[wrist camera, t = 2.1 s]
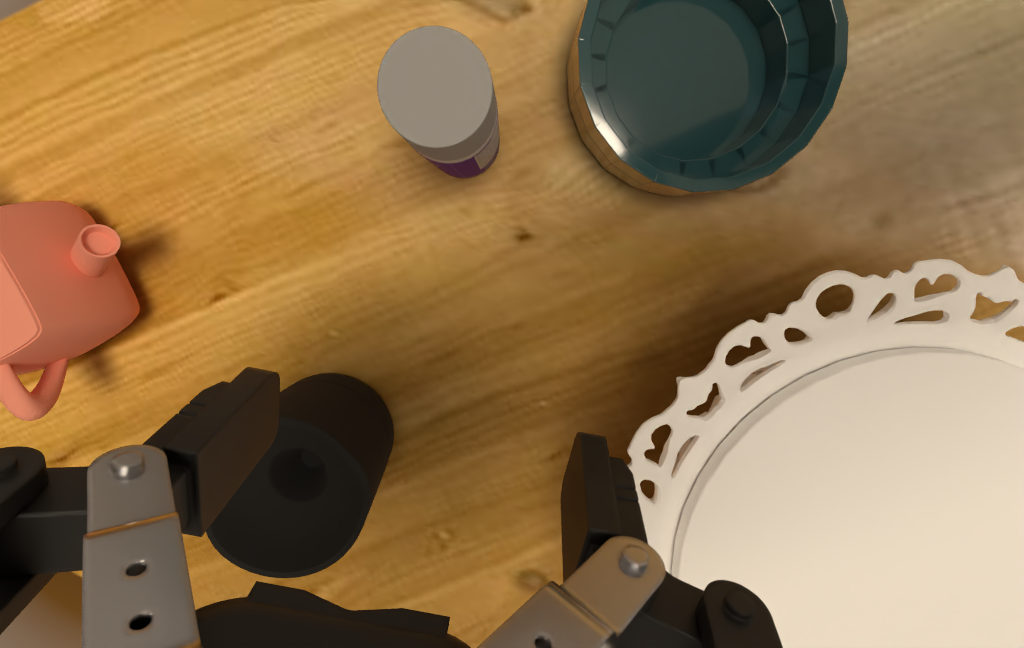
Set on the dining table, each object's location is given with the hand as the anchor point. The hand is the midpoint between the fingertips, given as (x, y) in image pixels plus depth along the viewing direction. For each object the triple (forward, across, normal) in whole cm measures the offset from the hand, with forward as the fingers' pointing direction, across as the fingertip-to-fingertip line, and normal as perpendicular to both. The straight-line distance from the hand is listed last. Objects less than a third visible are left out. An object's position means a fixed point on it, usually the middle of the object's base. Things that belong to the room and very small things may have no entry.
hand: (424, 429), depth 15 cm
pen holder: (+20, +9, +16) cm, 27 cm away
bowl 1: (+27, -10, -11) cm, 31 cm away
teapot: (+22, +28, +10) cm, 36 cm away
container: (+25, +3, -4) cm, 26 cm away
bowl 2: (+22, -24, +13) cm, 35 cm away
